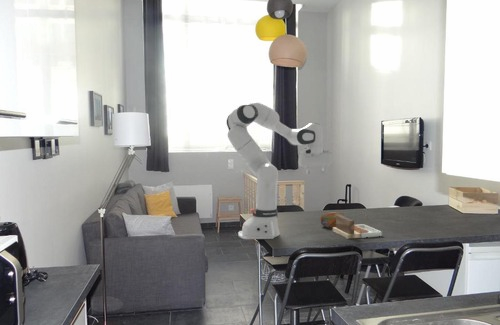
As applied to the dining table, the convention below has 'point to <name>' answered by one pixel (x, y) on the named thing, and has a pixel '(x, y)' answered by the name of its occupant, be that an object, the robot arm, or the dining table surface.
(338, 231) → the board
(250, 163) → the robot arm
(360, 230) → the tile
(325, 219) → the tin
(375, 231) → the tray
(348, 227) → the tall tan block
